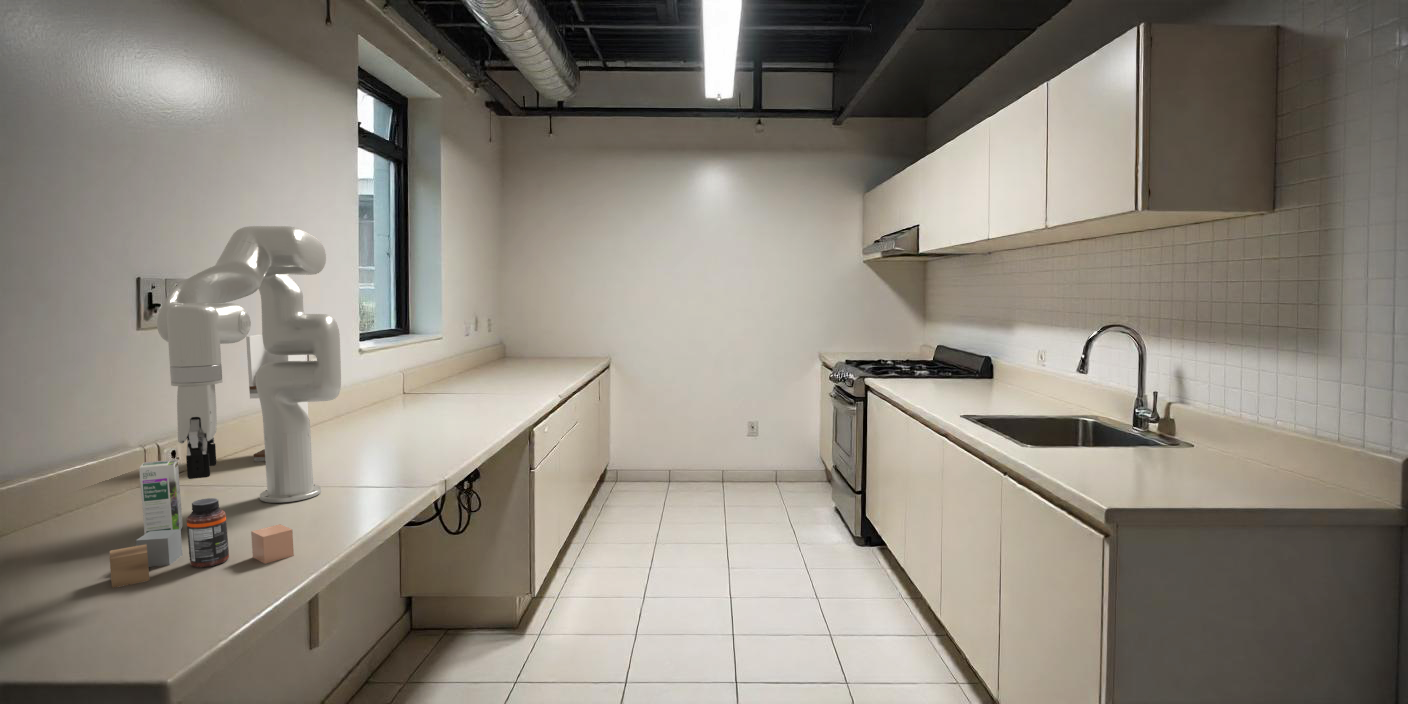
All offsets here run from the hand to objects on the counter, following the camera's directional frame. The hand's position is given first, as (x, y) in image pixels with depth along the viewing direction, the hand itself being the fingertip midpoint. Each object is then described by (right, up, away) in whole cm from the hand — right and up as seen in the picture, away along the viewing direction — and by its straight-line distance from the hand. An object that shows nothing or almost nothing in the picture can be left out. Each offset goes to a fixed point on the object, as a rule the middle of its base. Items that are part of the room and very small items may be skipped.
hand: (202, 471), depth 134 cm
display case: (-32, -9, +84) cm, 90 cm away
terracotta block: (+10, -16, +5) cm, 20 cm away
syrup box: (-19, -15, +18) cm, 30 cm away
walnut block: (-8, -18, -6) cm, 20 cm away
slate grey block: (-9, -17, +3) cm, 19 cm away
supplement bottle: (0, -17, +2) cm, 17 cm away
